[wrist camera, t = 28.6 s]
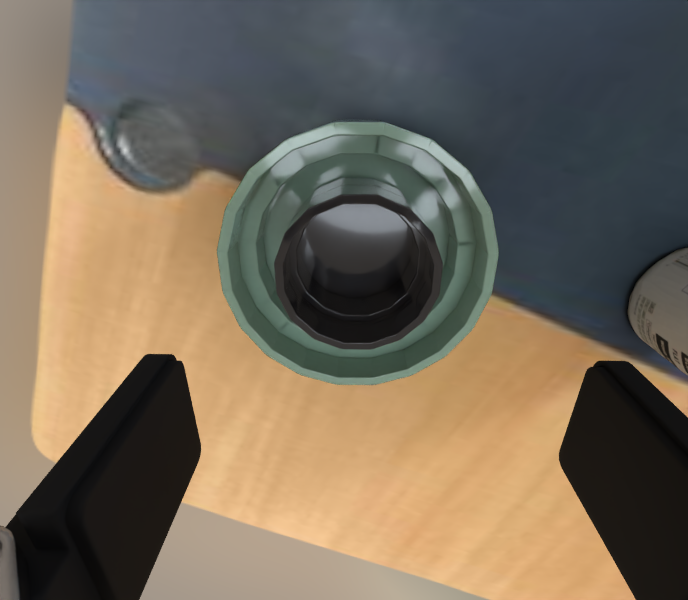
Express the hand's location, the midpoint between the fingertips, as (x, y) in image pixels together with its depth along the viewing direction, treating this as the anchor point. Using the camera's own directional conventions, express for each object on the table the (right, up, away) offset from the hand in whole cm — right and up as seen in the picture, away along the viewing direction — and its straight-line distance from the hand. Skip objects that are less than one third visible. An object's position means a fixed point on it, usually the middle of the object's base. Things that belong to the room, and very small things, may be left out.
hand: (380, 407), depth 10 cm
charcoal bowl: (0, +6, +13) cm, 14 cm away
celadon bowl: (0, +6, +13) cm, 15 cm away
